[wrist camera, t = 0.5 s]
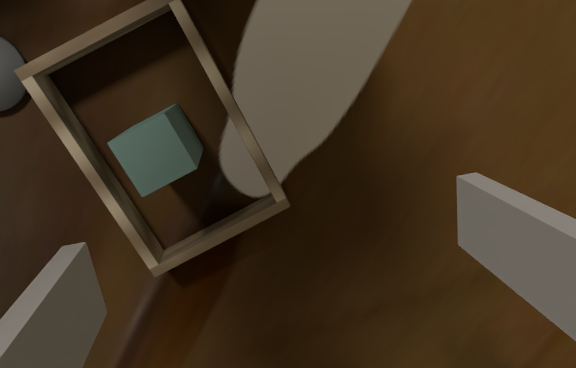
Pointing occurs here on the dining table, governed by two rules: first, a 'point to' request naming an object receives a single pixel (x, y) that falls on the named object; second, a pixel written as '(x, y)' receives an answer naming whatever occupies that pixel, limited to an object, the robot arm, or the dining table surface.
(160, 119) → the block
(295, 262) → the dining table surface
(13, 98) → the coaster
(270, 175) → the tray
